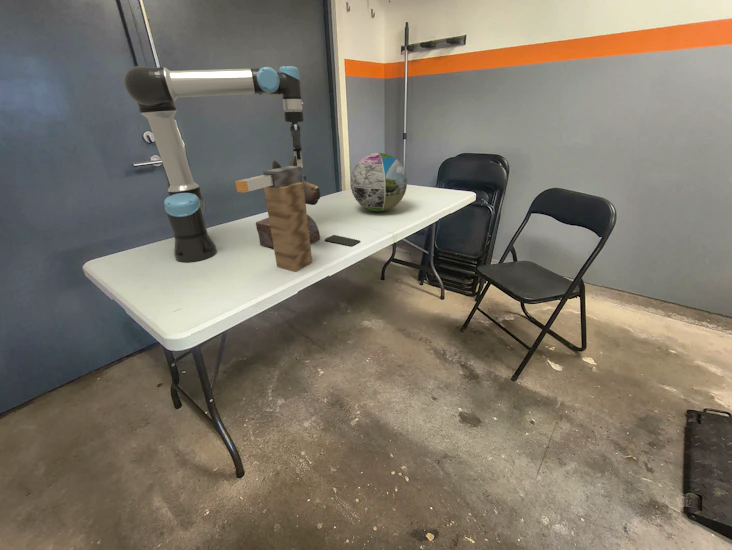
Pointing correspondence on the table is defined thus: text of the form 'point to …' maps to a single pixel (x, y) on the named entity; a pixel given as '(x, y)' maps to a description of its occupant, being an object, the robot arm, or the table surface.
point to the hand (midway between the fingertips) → (298, 165)
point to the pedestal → (288, 218)
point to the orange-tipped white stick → (254, 183)
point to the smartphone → (342, 240)
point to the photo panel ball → (378, 182)
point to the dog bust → (310, 198)
